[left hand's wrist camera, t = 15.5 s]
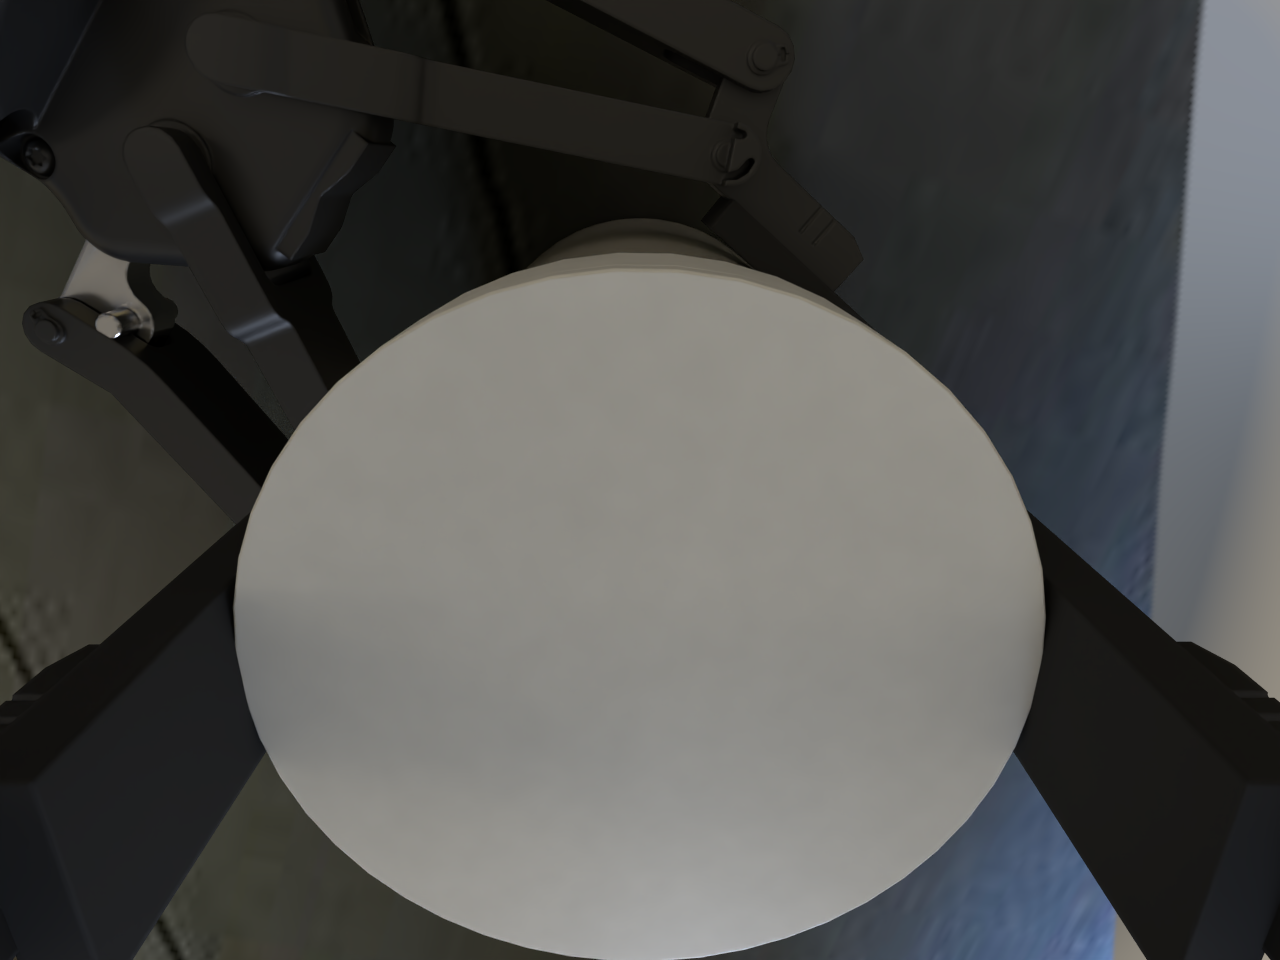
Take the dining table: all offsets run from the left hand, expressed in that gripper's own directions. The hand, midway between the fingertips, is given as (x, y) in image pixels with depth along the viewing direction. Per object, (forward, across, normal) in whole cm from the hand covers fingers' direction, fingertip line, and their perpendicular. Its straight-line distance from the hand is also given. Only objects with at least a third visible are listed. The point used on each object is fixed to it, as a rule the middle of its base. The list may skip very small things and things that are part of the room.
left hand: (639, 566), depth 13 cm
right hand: (+7, -3, +3) cm, 8 cm away
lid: (-3, 0, 0) cm, 3 cm away
